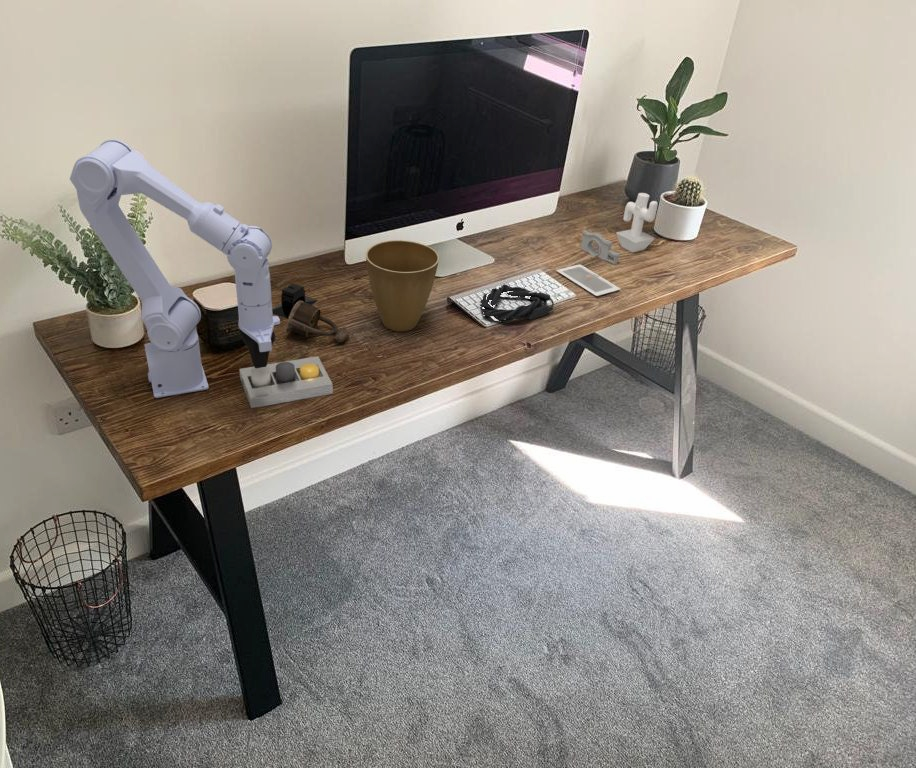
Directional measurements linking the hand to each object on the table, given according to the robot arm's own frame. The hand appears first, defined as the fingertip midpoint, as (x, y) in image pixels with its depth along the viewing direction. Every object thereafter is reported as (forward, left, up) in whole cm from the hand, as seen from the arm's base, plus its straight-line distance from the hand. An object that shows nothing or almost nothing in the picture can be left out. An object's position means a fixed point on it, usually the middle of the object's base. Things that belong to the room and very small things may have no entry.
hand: (260, 365), depth 146 cm
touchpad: (+83, +22, -6) cm, 87 cm away
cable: (+59, +15, -6) cm, 61 cm away
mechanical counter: (+14, +16, -6) cm, 22 cm away
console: (+4, 0, -5) cm, 7 cm away
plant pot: (+33, +16, -6) cm, 37 cm away
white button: (0, 0, -4) cm, 4 cm away
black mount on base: (+13, +30, -6) cm, 33 cm away
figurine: (+106, +36, -6) cm, 112 cm away
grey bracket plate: (+94, +34, -6) cm, 100 cm away
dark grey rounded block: (+4, 0, -4) cm, 6 cm away
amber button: (+9, 0, -5) cm, 10 cm away
